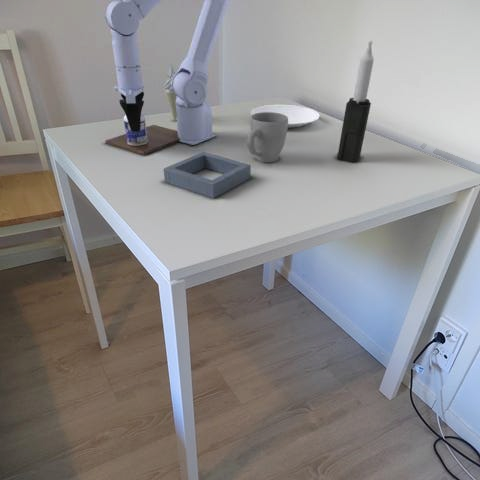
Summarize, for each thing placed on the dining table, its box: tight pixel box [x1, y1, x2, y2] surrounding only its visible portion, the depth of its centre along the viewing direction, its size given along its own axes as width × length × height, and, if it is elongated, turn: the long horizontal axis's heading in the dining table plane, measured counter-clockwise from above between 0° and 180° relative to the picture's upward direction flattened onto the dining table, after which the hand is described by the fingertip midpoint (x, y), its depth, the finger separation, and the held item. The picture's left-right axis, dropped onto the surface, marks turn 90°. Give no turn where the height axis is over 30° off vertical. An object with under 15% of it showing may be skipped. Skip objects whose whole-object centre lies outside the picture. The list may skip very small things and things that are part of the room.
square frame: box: [163, 151, 252, 199], centre depth 94 cm, size 14×14×3 cm
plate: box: [250, 103, 320, 129], centre depth 130 cm, size 21×21×2 cm
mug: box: [246, 112, 289, 163], centre depth 102 cm, size 12×9×10 cm
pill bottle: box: [123, 110, 148, 146], centre depth 107 cm, size 5×5×9 cm
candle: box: [336, 40, 375, 163], centre depth 99 cm, size 5×5×25 cm
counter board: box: [104, 124, 180, 156], centre depth 114 cm, size 18×14×1 cm
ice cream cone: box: [163, 63, 177, 122], centre depth 124 cm, size 5×5×15 cm
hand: (135, 127), depth 107 cm, fingers closed on pill bottle, 5 cm apart
